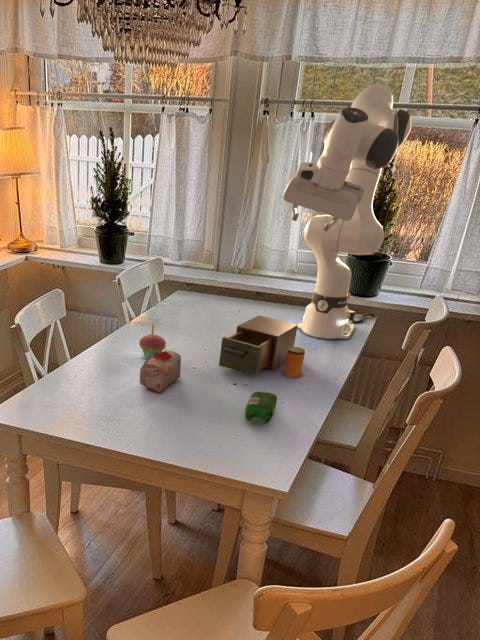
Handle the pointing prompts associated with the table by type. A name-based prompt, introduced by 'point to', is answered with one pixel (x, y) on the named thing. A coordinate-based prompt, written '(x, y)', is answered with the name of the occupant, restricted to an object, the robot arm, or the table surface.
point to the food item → (160, 370)
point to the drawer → (246, 352)
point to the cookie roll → (294, 361)
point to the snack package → (260, 407)
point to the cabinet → (273, 336)
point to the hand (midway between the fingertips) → (309, 225)
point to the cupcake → (152, 344)
